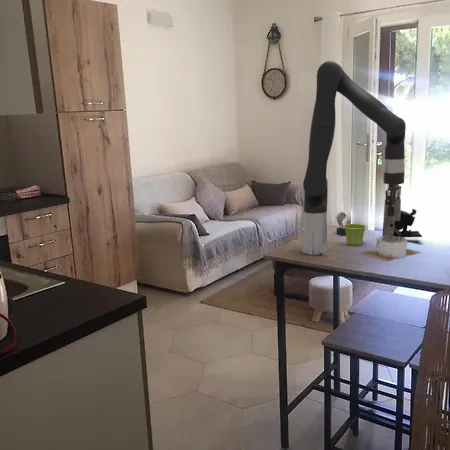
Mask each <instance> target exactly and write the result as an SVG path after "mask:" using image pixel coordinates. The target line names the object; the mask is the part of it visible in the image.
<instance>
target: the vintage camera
mask: <svg viewBox="0 0 450 450" xmlns="http://www.w3.org/2000/svg"><path fill="white" fill-rule="evenodd" d="M385 203H386V198H385V199H384V204H385ZM417 212H418V211H417V210H416V209H414V208H412V209H411V212H410V213H409V212H407V211H404V210H401V213H400V221H387V220H385V205H384V209H383V222H382V235H381V237H383V236H397V237H403V238H423V235H421V233H420V232H419V230H412V229H409V230H408V227H412V226H413V224H414V222H415V219H416V216H415V215H416V214H417ZM416 242H417V243H418V240H416Z"/></svg>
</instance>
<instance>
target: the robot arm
mask: <svg viewBox="0 0 450 450" xmlns="http://www.w3.org/2000/svg"><path fill="white" fill-rule="evenodd" d="M316 72H317V73H316V93H315V94H316V95H315V102H314V107H313V113H312V119H311V123H310V129H309V130H310V131H309V142H308V160H307V165H306V166H307V167H306V170H305V175H304V179H303V183H302V185H303V190H304V202H303V229H302V230H301V234H302V235H301V252H302V254H306V255H310V256H321V255H323V254H324V253H326V252H327V251H328V248H327V247H328V195H329V193H328V191H329V189H328V187H329V186H328V185H329V184H328V178H327V166H328V160H329V156H330V154H331V149H332V147H333V142H334V137H335V132H336V131H335V130H336V96H337V93H339V94H340V95H342V96H343V97H344V98H346V99H347V100H348V101H349V102H350V103H351V104H352V105H353V106H355V108H356V109H357V110H359V111H360V113H362V114H363V115H364V116H365V117H367V118H368V119H370V120H371V121H372V122H374V123H375V124H376V125H377V126H378V127H379V128H380V129H381V130H383V132H385V133H386V138H385V139H386V142H385V143H386V144H385V147H384V162H383V183H384V184H385V185H387V188H386V190H385V192H384V193H385V199H386V206H388V214H387V215H388V216H394V203H395V201H396V199H401V195H402V193H401V192H402V186H401V185H403V184H405V171H406V170H405V169H406V168H405V167H406V165H405V164H406V163H405V154H406V153H405V141H406V140H405V139H406V130H407V128H406V121H405V120H404V119H403V118H401V117H400V116H398V115H397V114H395V113H393V112H392V111H391V110H390V109H388V108H387V106H386V105H385V104H383V102H381V101H380V100H379V99H377V97H376V96H373V95H372V94H371V93H370V92H368V91H367V90H365V89H364V88H362V87H361V86H359V85H358V84H357V83H356V82H355V81H354V80H353V79H351V78H350V76H349V75H348V74H347V73H346V72H345V70H344V69H343V68H342V66H341V65H340V64H338V63H337V62H335V61H333V60H327V61H325V62H323V63H322V64H320V66H319V67H318V69H317V71H316ZM390 200H391V203H390V202H389V201H390Z"/></svg>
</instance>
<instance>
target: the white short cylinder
mask: <svg viewBox="0 0 450 450" xmlns="http://www.w3.org/2000/svg"><path fill="white" fill-rule="evenodd" d="M376 249H377V254H378V255H379V256H382V257H386V258H398V259H401V257H402V258H405V256H406V255H407V249H408V239H407V238H406V237H397V236H383V237H382V236H378V237H377V238H376ZM406 257H407V256H406Z"/></svg>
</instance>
